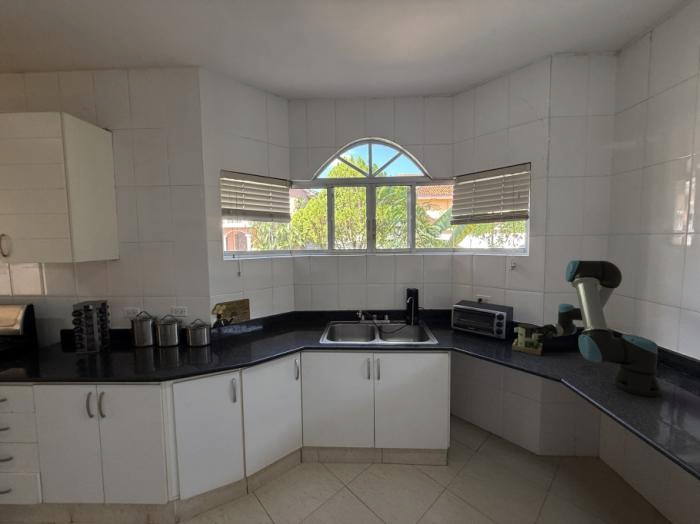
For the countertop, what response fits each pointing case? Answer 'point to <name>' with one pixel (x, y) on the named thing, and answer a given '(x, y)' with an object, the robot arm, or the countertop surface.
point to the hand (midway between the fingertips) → (523, 333)
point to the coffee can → (527, 335)
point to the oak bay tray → (527, 350)
